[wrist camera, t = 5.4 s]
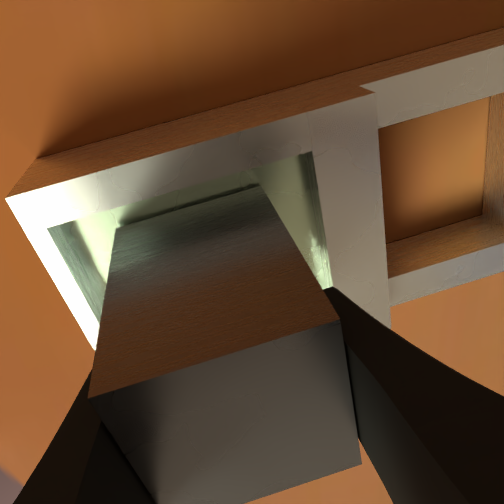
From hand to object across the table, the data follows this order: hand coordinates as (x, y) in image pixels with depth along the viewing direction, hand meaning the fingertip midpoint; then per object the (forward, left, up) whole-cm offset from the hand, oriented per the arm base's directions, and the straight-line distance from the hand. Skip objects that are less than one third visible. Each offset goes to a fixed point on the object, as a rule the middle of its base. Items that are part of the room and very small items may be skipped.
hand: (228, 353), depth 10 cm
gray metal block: (0, 0, -4) cm, 4 cm away
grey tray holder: (-4, 0, -6) cm, 7 cm away
